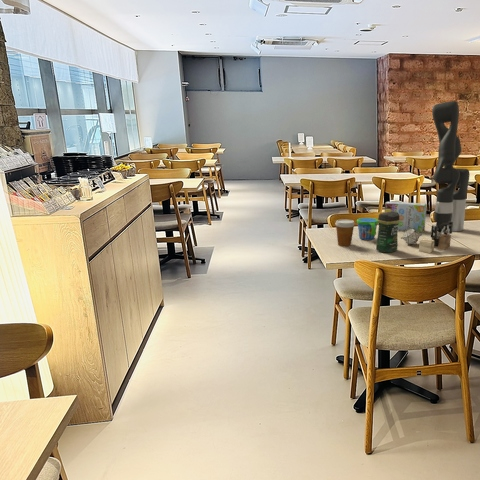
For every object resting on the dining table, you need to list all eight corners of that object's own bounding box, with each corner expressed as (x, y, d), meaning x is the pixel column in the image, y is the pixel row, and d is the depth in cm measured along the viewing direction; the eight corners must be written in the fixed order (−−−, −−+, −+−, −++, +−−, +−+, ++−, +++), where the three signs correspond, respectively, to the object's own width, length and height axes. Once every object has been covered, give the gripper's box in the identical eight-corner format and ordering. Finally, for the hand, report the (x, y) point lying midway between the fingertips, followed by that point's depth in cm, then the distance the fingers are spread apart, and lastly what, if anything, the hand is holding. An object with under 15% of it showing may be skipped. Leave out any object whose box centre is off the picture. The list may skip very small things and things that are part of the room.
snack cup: (352, 235, 233) (353, 216, 231) (371, 234, 234) (372, 216, 231) (361, 243, 218) (362, 223, 216) (382, 242, 218) (383, 222, 216)
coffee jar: (387, 254, 199) (389, 214, 194) (373, 250, 205) (375, 212, 200) (400, 250, 204) (403, 211, 199) (386, 246, 210) (388, 209, 205)
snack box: (424, 230, 238) (426, 203, 234) (422, 232, 234) (425, 205, 230) (385, 226, 249) (386, 201, 245) (382, 229, 245) (384, 202, 241)
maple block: (422, 248, 205) (423, 238, 204) (433, 250, 202) (434, 240, 201) (418, 251, 202) (419, 241, 201) (430, 253, 199) (430, 242, 197)
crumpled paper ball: (413, 252, 213) (423, 239, 205) (397, 246, 213) (406, 233, 206) (415, 239, 218) (425, 226, 211) (399, 233, 219) (408, 220, 211)
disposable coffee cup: (330, 243, 219) (331, 220, 216) (346, 241, 223) (347, 218, 220) (342, 248, 211) (342, 224, 207) (358, 245, 214) (359, 221, 211)
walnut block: (438, 244, 211) (439, 233, 209) (449, 247, 206) (451, 235, 204) (430, 247, 207) (431, 235, 206) (442, 249, 203) (443, 237, 201)
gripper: (444, 207, 209) (441, 240, 213) (427, 212, 201) (424, 245, 205) (459, 210, 203) (456, 243, 207) (442, 214, 195) (439, 249, 200)
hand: (440, 244), depth 206 cm, fingers open, 8 cm apart
